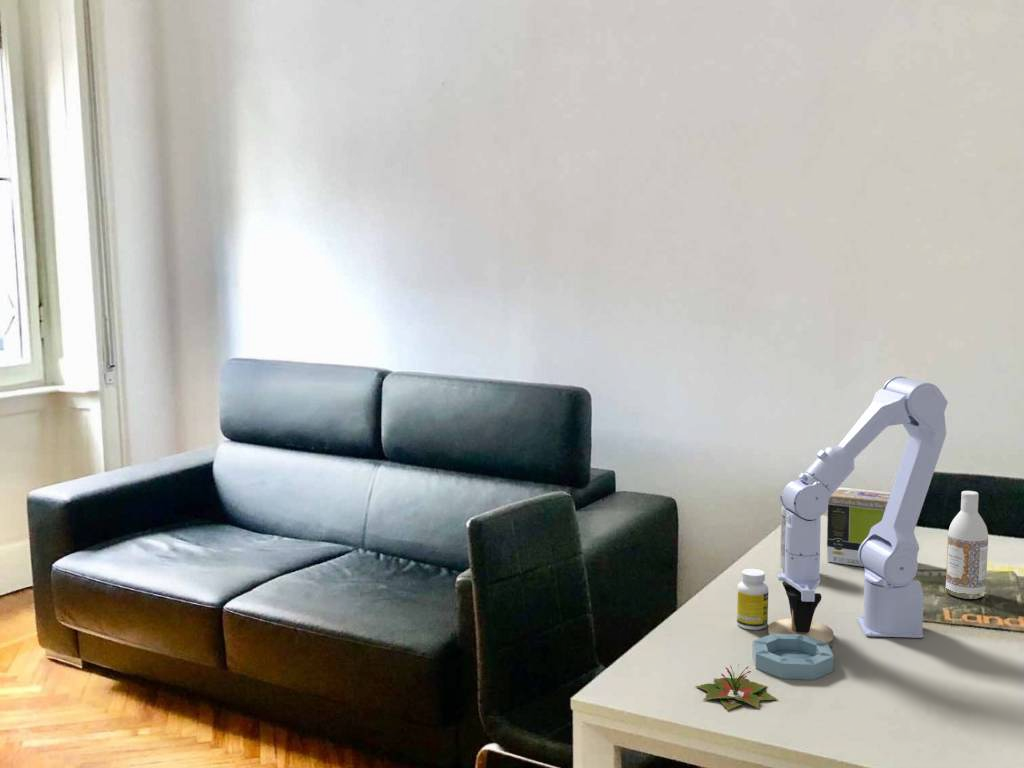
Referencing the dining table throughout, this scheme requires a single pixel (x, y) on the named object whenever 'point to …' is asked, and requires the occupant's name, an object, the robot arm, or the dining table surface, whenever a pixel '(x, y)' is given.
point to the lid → (815, 632)
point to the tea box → (852, 521)
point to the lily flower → (736, 690)
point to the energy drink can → (783, 538)
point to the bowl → (792, 656)
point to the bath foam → (967, 548)
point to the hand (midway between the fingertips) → (800, 627)
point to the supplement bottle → (752, 600)
